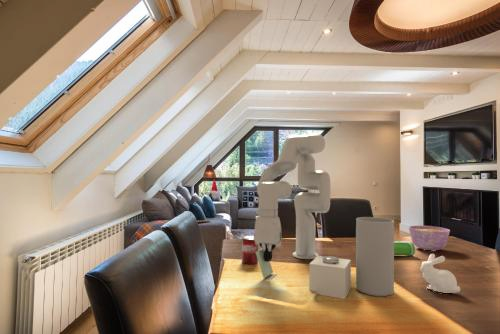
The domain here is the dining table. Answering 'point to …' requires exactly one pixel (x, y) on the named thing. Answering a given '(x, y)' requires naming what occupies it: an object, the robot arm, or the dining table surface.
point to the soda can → (249, 251)
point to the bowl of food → (429, 237)
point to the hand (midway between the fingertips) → (267, 260)
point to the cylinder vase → (375, 256)
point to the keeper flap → (264, 264)
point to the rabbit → (439, 276)
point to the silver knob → (330, 260)
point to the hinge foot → (271, 276)
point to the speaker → (404, 248)
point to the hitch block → (330, 277)
